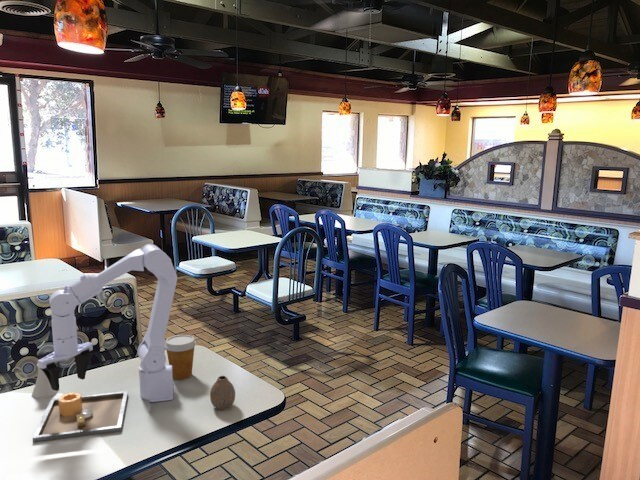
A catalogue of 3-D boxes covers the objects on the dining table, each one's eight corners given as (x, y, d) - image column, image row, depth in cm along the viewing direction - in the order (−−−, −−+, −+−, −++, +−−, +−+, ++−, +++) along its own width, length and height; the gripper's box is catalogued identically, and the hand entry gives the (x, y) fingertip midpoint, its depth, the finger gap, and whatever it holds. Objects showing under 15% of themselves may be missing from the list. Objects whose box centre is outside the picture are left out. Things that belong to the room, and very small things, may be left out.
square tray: (128, 394, 149) (127, 390, 149) (121, 431, 130) (120, 427, 130) (51, 403, 144) (51, 399, 143) (32, 442, 125) (32, 438, 124)
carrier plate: (128, 397, 149) (128, 394, 149) (121, 434, 130) (121, 431, 130) (51, 405, 144) (51, 403, 144) (33, 445, 125) (32, 442, 125)
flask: (48, 402, 145) (45, 369, 144) (25, 400, 147) (22, 367, 145) (65, 391, 152) (62, 359, 150) (44, 388, 154) (41, 356, 152)
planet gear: (83, 405, 143) (82, 391, 142) (79, 414, 138) (78, 400, 137) (62, 407, 141) (61, 393, 140) (58, 417, 136) (57, 403, 136)
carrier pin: (85, 424, 133) (85, 414, 133) (84, 427, 131) (83, 418, 131) (78, 425, 133) (77, 415, 132) (76, 428, 131) (76, 419, 130)
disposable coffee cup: (192, 367, 170) (191, 332, 167) (200, 378, 161) (199, 342, 159) (163, 372, 165) (161, 337, 163) (169, 384, 157) (167, 347, 155)
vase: (240, 406, 145) (240, 377, 143) (220, 415, 140) (219, 385, 138) (225, 398, 149) (224, 369, 148) (205, 406, 144) (204, 377, 143)
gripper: (79, 324, 144) (83, 370, 146) (28, 341, 131) (33, 391, 134) (96, 329, 140) (99, 376, 143) (45, 346, 128) (50, 397, 130)
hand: (68, 383), depth 138 cm, fingers open, 7 cm apart
